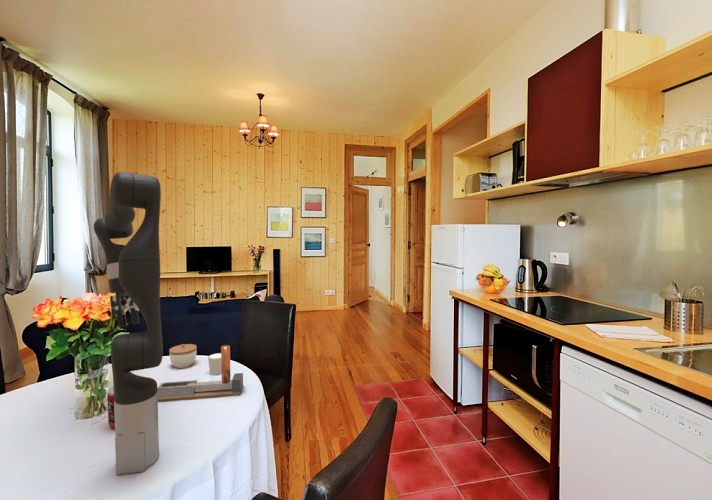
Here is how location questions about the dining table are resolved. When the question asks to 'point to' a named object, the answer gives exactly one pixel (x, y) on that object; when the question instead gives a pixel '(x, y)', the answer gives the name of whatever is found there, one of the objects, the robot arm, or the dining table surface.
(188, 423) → the dining table surface
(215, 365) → the beige cylindrical piece
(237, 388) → the socket block
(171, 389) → the guide sleeve
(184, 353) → the lidded jar
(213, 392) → the plank
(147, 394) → the robot arm
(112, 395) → the canned food
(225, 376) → the sliding bolt with handle
